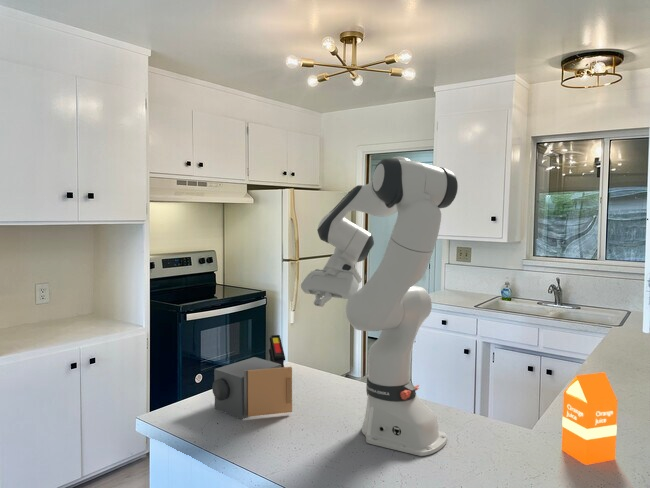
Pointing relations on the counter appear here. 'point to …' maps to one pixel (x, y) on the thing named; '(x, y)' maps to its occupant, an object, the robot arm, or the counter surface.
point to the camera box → (235, 384)
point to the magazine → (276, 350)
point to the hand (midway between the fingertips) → (317, 305)
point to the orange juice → (589, 419)
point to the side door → (267, 391)
